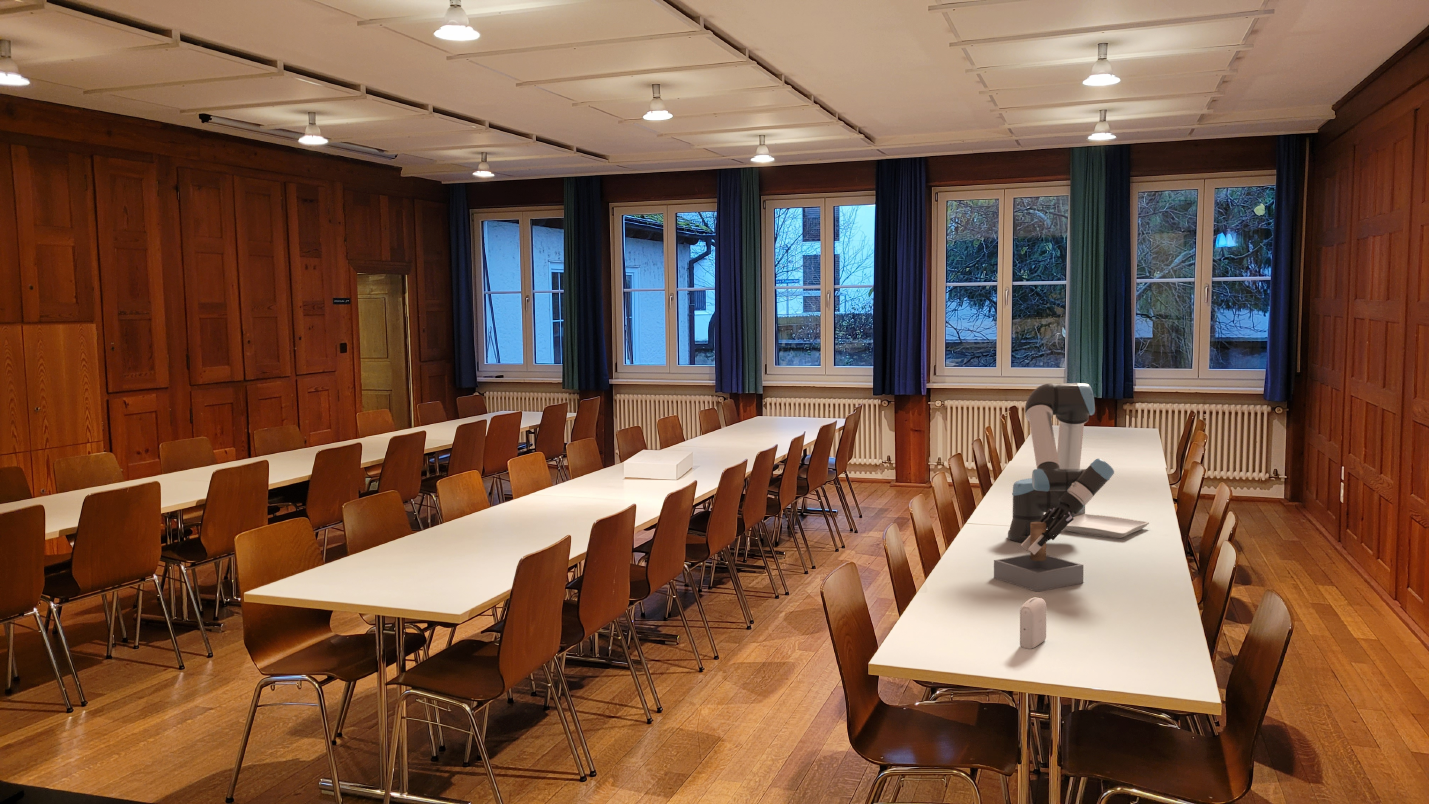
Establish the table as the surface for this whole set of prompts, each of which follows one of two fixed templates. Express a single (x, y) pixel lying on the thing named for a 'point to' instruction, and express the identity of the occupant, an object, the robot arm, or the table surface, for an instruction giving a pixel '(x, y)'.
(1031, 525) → the walnut cylinder
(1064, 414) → the robot arm
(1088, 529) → the square plate
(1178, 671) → the table surface
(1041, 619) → the photo printer
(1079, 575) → the tote
